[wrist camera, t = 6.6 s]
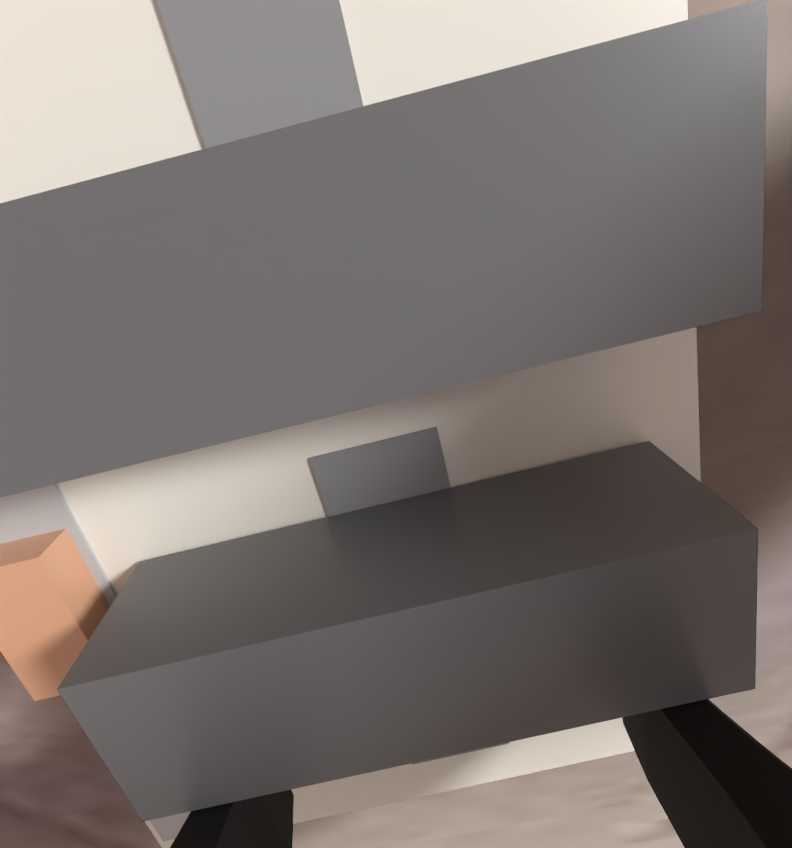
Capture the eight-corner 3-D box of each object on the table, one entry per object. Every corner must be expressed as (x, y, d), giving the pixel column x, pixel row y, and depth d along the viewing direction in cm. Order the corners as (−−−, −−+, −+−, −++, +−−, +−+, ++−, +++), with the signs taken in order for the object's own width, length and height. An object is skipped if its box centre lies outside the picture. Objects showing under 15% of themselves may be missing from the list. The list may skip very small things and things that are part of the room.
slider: (649, 440, 10) (757, 529, 7) (657, 569, 11) (754, 688, 8) (138, 562, 10) (56, 689, 8) (196, 674, 12) (142, 821, 9)
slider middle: (624, 74, 8) (768, -2, 5) (638, 280, 9) (762, 311, 6) (-22, 245, 8) (-222, 262, 5) (68, 422, 9) (-60, 512, 7)
